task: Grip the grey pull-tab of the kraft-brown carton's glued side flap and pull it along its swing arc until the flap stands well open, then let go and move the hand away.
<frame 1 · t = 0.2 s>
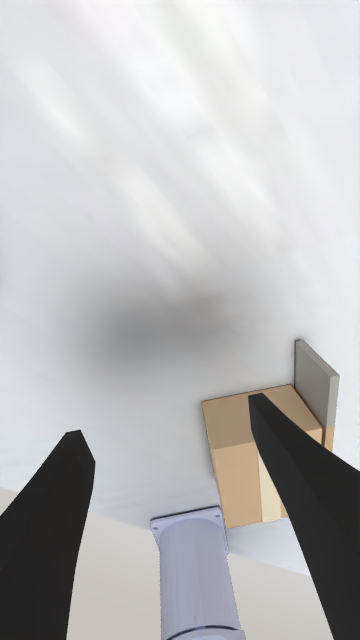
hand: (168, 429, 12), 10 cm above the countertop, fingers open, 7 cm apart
carton: (249, 433, 26), on the countertop
flap: (311, 427, 23), point 3 cm above the countertop, hinge at 0.0°
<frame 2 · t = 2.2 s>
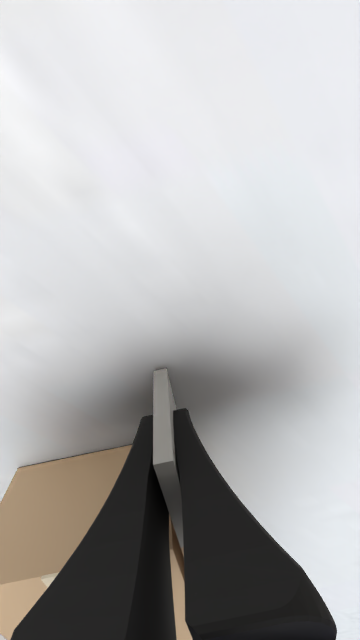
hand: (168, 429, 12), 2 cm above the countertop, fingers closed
carton: (118, 509, 16), on the countertop
flap: (192, 517, 13), point 3 cm above the countertop, hinge at 0.0°, touching gripper
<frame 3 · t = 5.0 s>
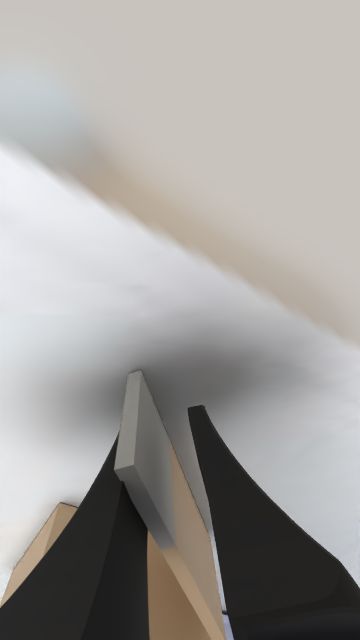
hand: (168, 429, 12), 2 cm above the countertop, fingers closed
carton: (107, 556, 18), on the countertop
flap: (180, 517, 13), point 3 cm above the countertop, hinge at 42.4°, touching gripper
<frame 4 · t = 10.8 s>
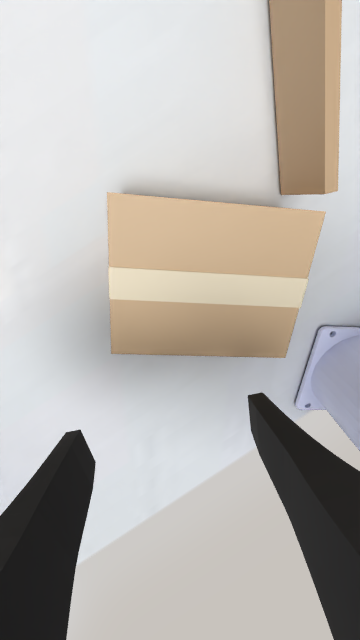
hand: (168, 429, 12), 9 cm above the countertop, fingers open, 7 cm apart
carton: (196, 265, 18), on the countertop
flap: (300, 12, 11), point 3 cm above the countertop, hinge at 72.4°
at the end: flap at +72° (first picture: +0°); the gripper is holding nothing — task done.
